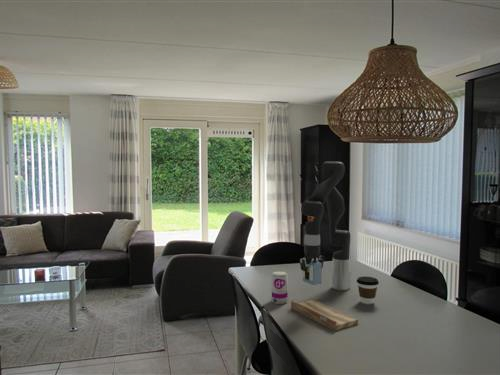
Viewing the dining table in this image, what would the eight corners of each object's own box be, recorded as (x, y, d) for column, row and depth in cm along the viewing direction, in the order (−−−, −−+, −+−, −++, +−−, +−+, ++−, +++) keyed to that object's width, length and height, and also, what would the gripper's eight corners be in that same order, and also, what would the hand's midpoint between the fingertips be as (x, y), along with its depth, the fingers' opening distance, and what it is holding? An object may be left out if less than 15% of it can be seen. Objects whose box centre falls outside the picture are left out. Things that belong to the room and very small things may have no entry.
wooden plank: (313, 303, 200) (313, 295, 200) (358, 323, 175) (358, 315, 174) (290, 308, 193) (290, 300, 192) (334, 330, 167) (334, 321, 167)
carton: (321, 283, 186) (321, 262, 186) (313, 285, 184) (313, 264, 183) (310, 279, 193) (310, 259, 192) (302, 281, 190) (302, 260, 190)
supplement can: (286, 305, 198) (286, 275, 197) (270, 303, 199) (270, 274, 199) (288, 299, 206) (288, 271, 205) (272, 298, 207) (272, 270, 206)
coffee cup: (379, 300, 205) (380, 277, 204) (376, 307, 195) (377, 283, 194) (358, 297, 209) (358, 275, 209) (354, 304, 200) (354, 280, 199)
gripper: (305, 246, 180) (305, 282, 181) (328, 243, 188) (328, 278, 189) (295, 243, 187) (295, 278, 188) (318, 240, 194) (317, 274, 195)
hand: (311, 278), depth 188 cm, fingers closed on carton, 5 cm apart
